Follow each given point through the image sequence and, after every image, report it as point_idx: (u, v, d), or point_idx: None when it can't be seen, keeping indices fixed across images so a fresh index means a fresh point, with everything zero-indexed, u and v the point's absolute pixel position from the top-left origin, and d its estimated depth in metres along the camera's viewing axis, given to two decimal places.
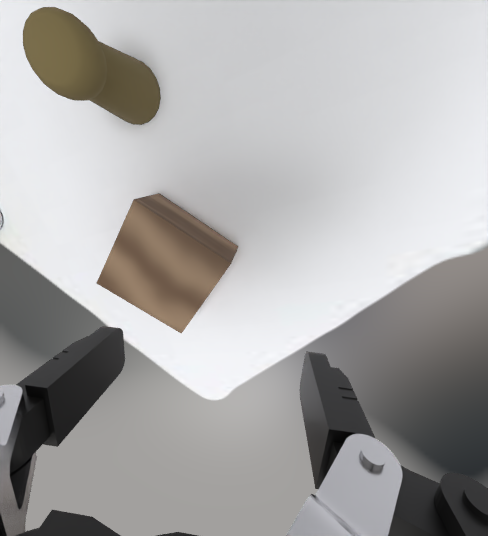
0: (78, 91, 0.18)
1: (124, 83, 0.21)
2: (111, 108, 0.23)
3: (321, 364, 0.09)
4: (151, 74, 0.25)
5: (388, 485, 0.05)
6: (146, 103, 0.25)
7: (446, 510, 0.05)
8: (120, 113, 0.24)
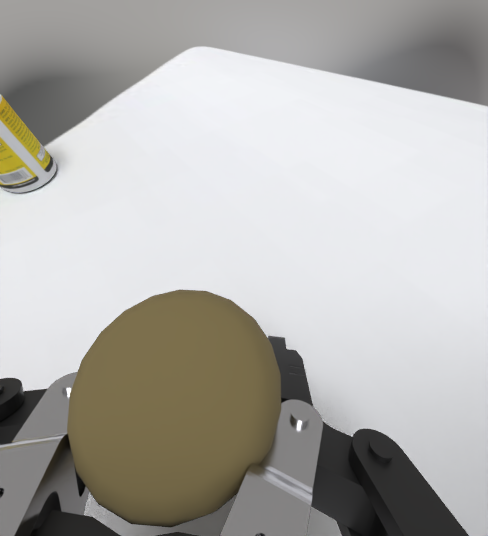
0: None
1: None
2: None
3: (278, 346, 0.10)
4: None
5: (307, 436, 0.06)
6: None
7: (357, 464, 0.06)
8: None
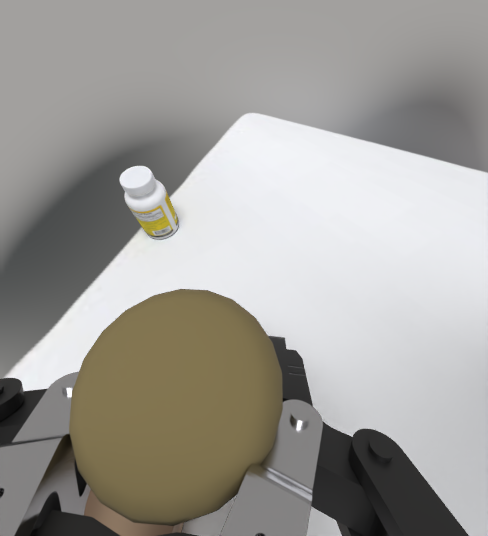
0: (76, 461, 0.05)
1: None
2: None
3: (278, 346, 0.10)
4: None
5: (307, 436, 0.06)
6: None
7: (357, 464, 0.06)
8: None
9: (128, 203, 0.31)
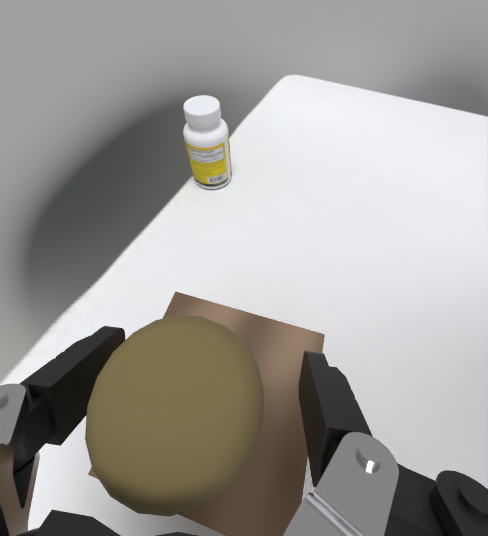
0: (91, 463, 0.06)
1: None
2: None
3: (319, 363, 0.09)
4: None
5: (384, 482, 0.05)
6: None
7: (442, 507, 0.05)
8: None
9: (189, 138, 0.28)
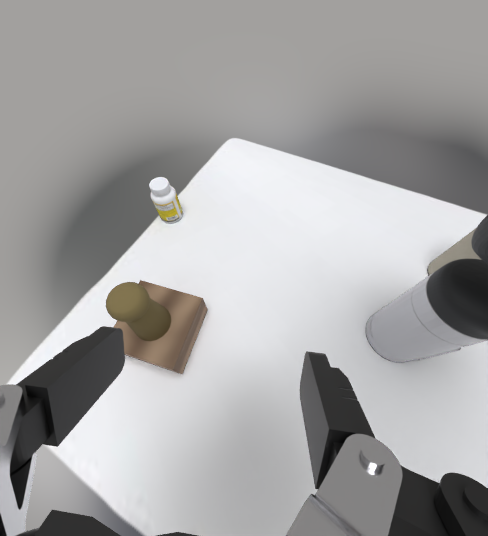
0: (107, 310, 0.30)
1: (135, 326, 0.33)
2: None
3: (321, 364, 0.09)
4: (161, 334, 0.38)
5: (388, 485, 0.05)
6: (139, 335, 0.36)
7: (446, 510, 0.05)
8: None
9: (153, 199, 0.51)
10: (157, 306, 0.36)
